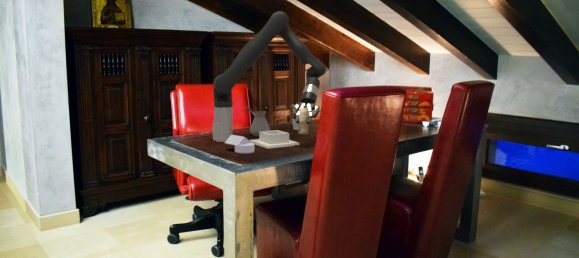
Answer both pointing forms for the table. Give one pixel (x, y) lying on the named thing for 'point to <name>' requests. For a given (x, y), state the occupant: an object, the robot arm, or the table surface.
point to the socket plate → (274, 139)
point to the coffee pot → (258, 122)
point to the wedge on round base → (241, 144)
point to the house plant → (294, 120)
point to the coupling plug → (303, 121)
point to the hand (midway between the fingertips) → (302, 123)
